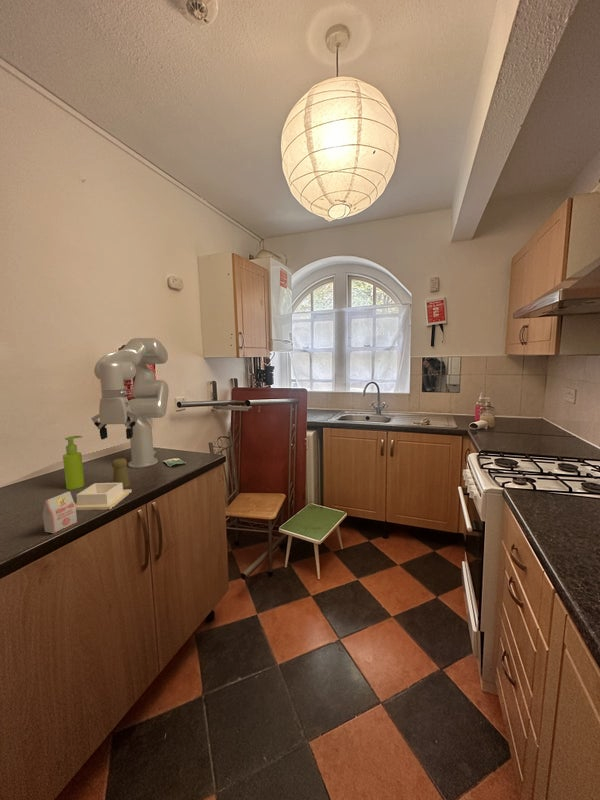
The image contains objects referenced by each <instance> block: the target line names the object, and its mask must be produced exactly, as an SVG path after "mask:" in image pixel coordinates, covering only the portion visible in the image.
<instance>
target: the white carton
mask: <svg viewBox="0 0 600 800" xmlns="http://www.w3.org/2000/svg"><path fill="white" fill-rule="evenodd" d="M77 518H78V516H77V510H76V507H75V501H74V499H73V496H72V494H71V491H66V492H64V493H61V494H59V495H56V496H54V497H51V498H48V499H46V500H44V506H43V510H42V519H43V527H44V533H45V532H50V533H55V532H57V531H59V530H61V529H63V528H66V527H68V526H70V525H72V524H74V525H76V524H77V523H78V519H77ZM75 523H76V524H75ZM72 526H73V525H72ZM70 527H71V526H70ZM68 528H69V527H68ZM66 529H67V528H66Z"/></svg>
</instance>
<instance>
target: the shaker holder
mask: <svg viewBox="0 0 600 800" xmlns="http://www.w3.org/2000/svg"><path fill="white" fill-rule="evenodd" d="M129 493H130V494H131V493H132V489H129V488H128V489H126V488H125V489H124V488H123V484H122V483H113V482H95V483H92V484H91V485H90V486H88V487H86V488H85V489H83V490H81V491H80V492H78V493H76V495H75V496H76V501H74V503H75V507H76V511H96V510H98V511H99V510H101V511H102V510H104V511H106V510H107V509H109V510H111V509H113V508H114V507H115V506H117V504H119V503H120V502H121V501H123V500H124V499H125V498H126V497H127V496H129V495H130V494H129ZM112 507H113V508H112Z"/></svg>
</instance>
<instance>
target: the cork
mask: <svg viewBox="0 0 600 800" xmlns="http://www.w3.org/2000/svg"><path fill="white" fill-rule="evenodd" d="M127 465H128V461H127V459H126V458H122V457H121V458H116V459H113V460H112V462H111V466H112V469H113V473H112V474H113V475H112V476H113V477H112V483H122V484H123V489H126V488H128V487H130V486H131V483H130V479H129V474H128V470H127ZM129 485H130V486H129Z"/></svg>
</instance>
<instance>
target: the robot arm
mask: <svg viewBox="0 0 600 800" xmlns="http://www.w3.org/2000/svg"><path fill="white" fill-rule="evenodd" d="M168 360H169V354H168V351H167V349H166V347H165V346H164V345H163V344H162V342H161V341H160V340H159V339H157V338H154V337H147V338H146V337H135V338H132V339H130V340H129V341H128V342H127V343H126V344H125V346H123V348H122V349H119V350H116V351H113V352H110V353H108V354H105V355H103V356H102V357H101V358H99V360H98V361H97V362H96V363H95V366H94V370H93V371H94V372H93V373H94V376H95V377H96V378H97V379H98V380H100V381H99V382H100V390H101V398H100V399H99V408H98V414H96V415H94V416H93V417H91V421H92V422H93V424H94V426H96V428H97V430H99V436H100V439H101V440H105V439H107V438H108V429H107V427H106V426H107V425H124V427H126V429H125V435H126V439H127V440H129V441H130V442H129V443H130V454H131V460H130V461H129V462H127V465H128V467H130V468H133V469H137V468H138V469H141V468H146V467H151V466H154V465H156V464H157V463H158V461H159V460H158V458H156V457H155V454H157V451H156V450H154V442H153V428H152V425H151V423H150V422H149V421H148V419H160V418H161V419H162V418H163V417H164V416H165V415H166V413H167V406H168V400H169V385H168V383H167V382H166V381H165V380H163V379H155V377H156V376H155V373H154V371H153V370H152V369H151V368H150V367H149V366H148V365H162V364H166V363H167V361H168ZM132 379H134V382H133V389H132V395H133V397H134V398H132V399H130V400H129V399H128V397H126V396H127V395H128V391H126V390H125V384H124V381H129V380H130V381H131V380H132Z"/></svg>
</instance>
